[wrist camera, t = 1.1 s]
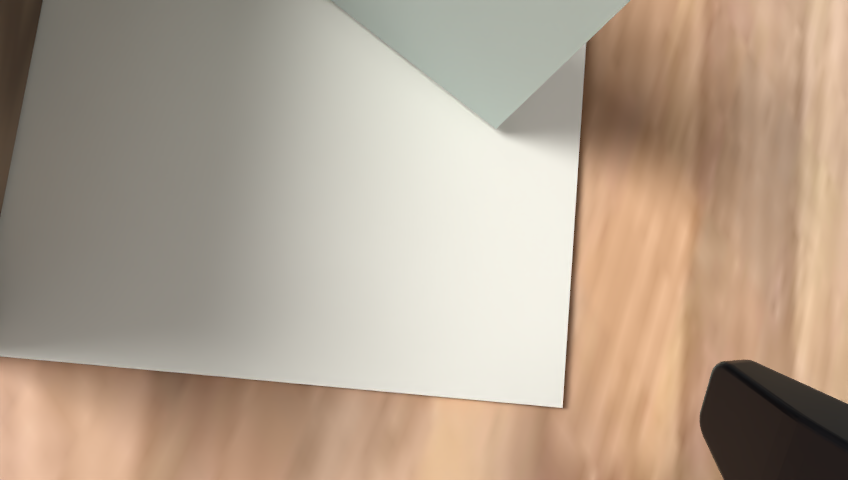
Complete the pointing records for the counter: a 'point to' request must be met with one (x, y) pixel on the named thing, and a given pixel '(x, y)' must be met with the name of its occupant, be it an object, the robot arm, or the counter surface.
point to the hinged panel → (485, 43)
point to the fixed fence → (14, 72)
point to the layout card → (283, 206)
